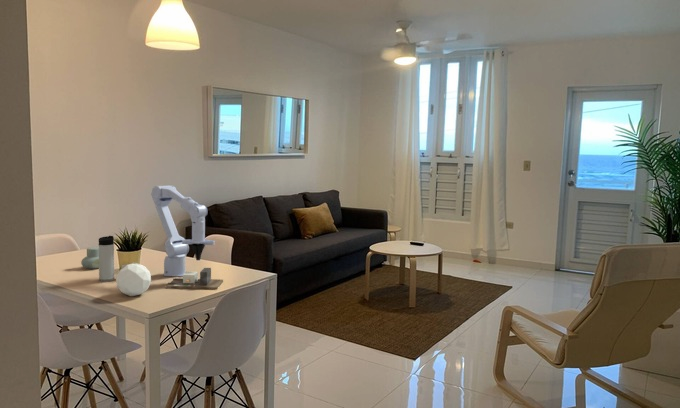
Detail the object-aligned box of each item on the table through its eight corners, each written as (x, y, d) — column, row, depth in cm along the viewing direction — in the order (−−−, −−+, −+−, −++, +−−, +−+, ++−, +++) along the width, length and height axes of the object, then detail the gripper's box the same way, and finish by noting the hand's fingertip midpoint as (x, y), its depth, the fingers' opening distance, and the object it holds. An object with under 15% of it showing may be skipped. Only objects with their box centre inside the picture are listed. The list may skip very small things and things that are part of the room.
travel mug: (118, 279, 233) (117, 236, 231) (107, 282, 227) (106, 238, 225) (107, 277, 235) (106, 235, 233) (96, 281, 229) (95, 237, 227)
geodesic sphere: (105, 287, 200) (128, 259, 202) (106, 278, 212) (127, 252, 214) (137, 306, 205) (158, 278, 207) (136, 296, 218) (156, 270, 220)
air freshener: (88, 271, 246) (88, 250, 245) (78, 268, 250) (77, 248, 249) (108, 266, 255) (108, 247, 254) (98, 264, 259) (98, 245, 258)
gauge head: (181, 285, 222) (181, 276, 222) (186, 280, 231) (186, 271, 230) (192, 285, 222) (192, 276, 222) (197, 280, 231) (197, 271, 231)
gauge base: (166, 288, 221) (166, 272, 221) (175, 280, 234) (175, 265, 234) (216, 289, 222) (217, 273, 221) (223, 281, 235) (223, 266, 234)
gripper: (180, 232, 230) (180, 261, 232) (212, 232, 231) (212, 262, 232) (184, 229, 237) (184, 257, 239) (215, 230, 238) (215, 258, 239)
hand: (198, 259), depth 236 cm, fingers closed
